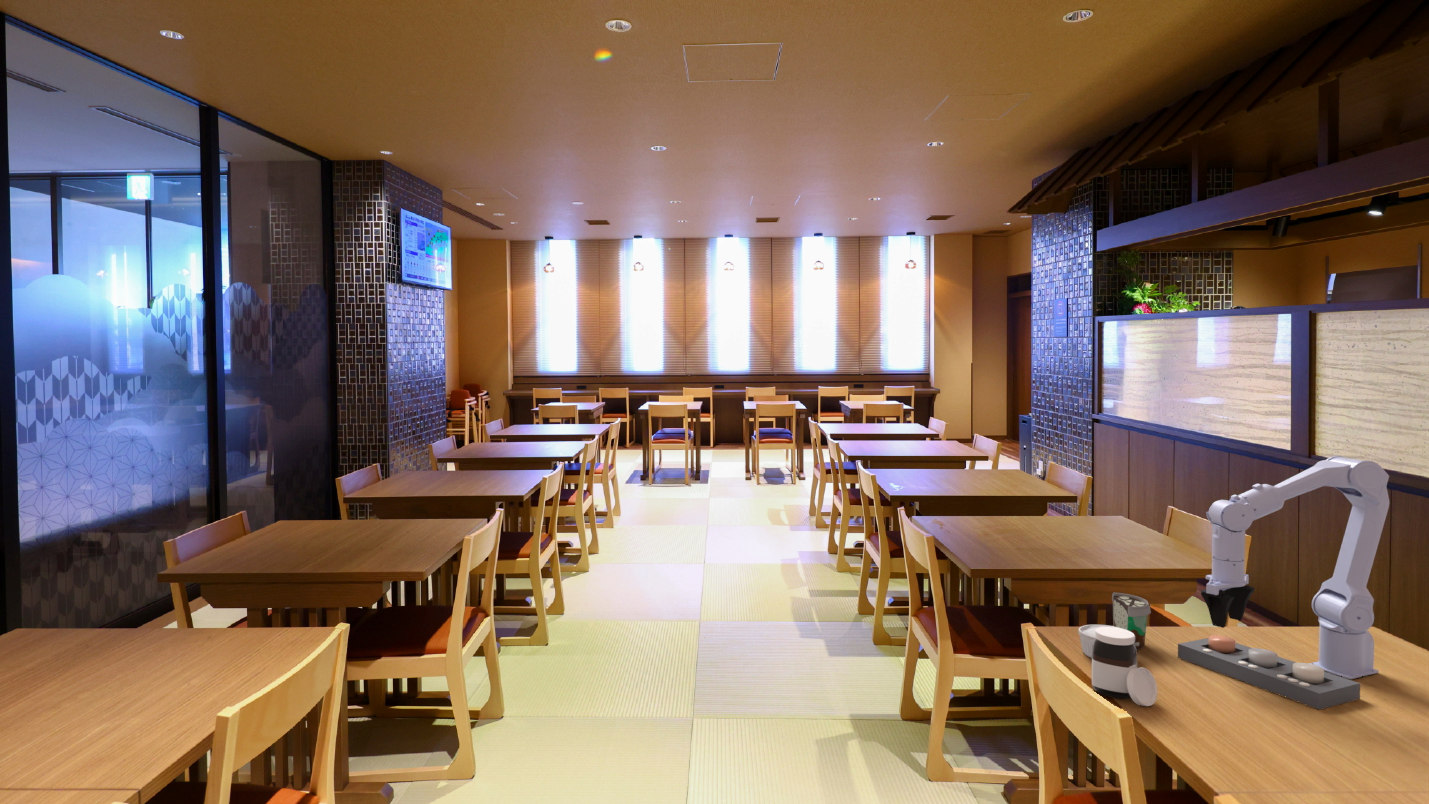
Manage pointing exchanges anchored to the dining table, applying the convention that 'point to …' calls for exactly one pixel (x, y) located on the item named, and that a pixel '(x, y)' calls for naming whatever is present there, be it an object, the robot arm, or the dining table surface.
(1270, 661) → the button two
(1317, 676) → the button three
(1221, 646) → the button one
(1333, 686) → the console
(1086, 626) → the ramekin
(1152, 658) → the dining table surface
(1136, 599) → the food container
